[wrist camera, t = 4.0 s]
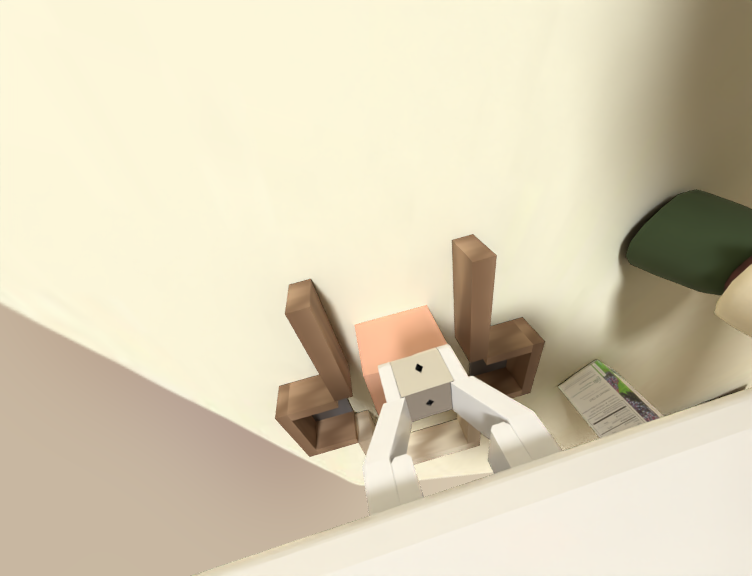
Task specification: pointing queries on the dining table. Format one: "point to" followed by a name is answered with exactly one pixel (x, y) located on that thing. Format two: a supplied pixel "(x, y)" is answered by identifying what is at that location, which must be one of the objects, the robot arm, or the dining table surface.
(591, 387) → the syrup box
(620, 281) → the dining table surface
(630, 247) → the character mug
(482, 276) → the trap channel
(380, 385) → the terracotta block
